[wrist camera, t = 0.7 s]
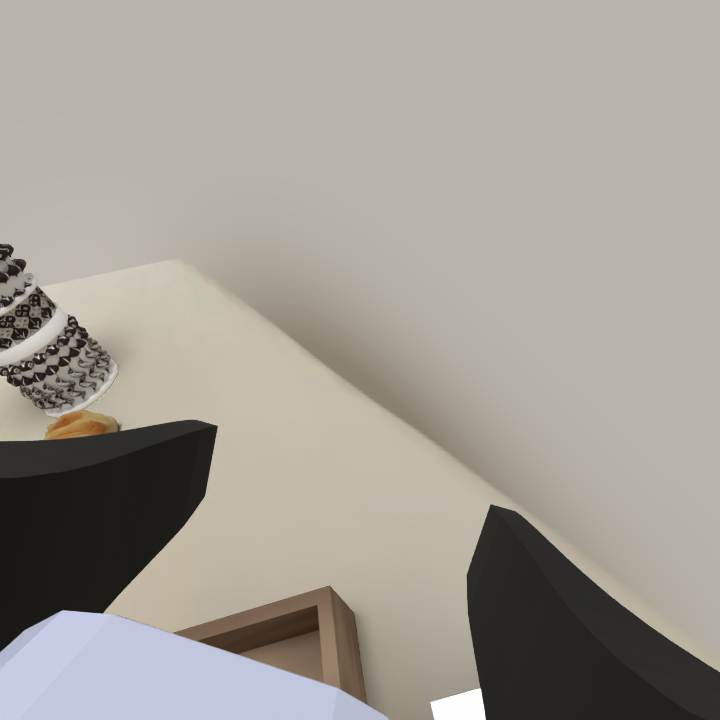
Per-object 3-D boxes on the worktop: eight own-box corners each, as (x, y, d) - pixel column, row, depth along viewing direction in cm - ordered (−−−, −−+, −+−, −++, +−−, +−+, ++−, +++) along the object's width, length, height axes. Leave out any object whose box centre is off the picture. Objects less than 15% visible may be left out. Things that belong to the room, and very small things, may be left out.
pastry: (107, 504, 36) (73, 479, 33) (30, 536, 36) (-10, 513, 33) (125, 421, 43) (98, 395, 40) (60, 447, 43) (29, 423, 40)
